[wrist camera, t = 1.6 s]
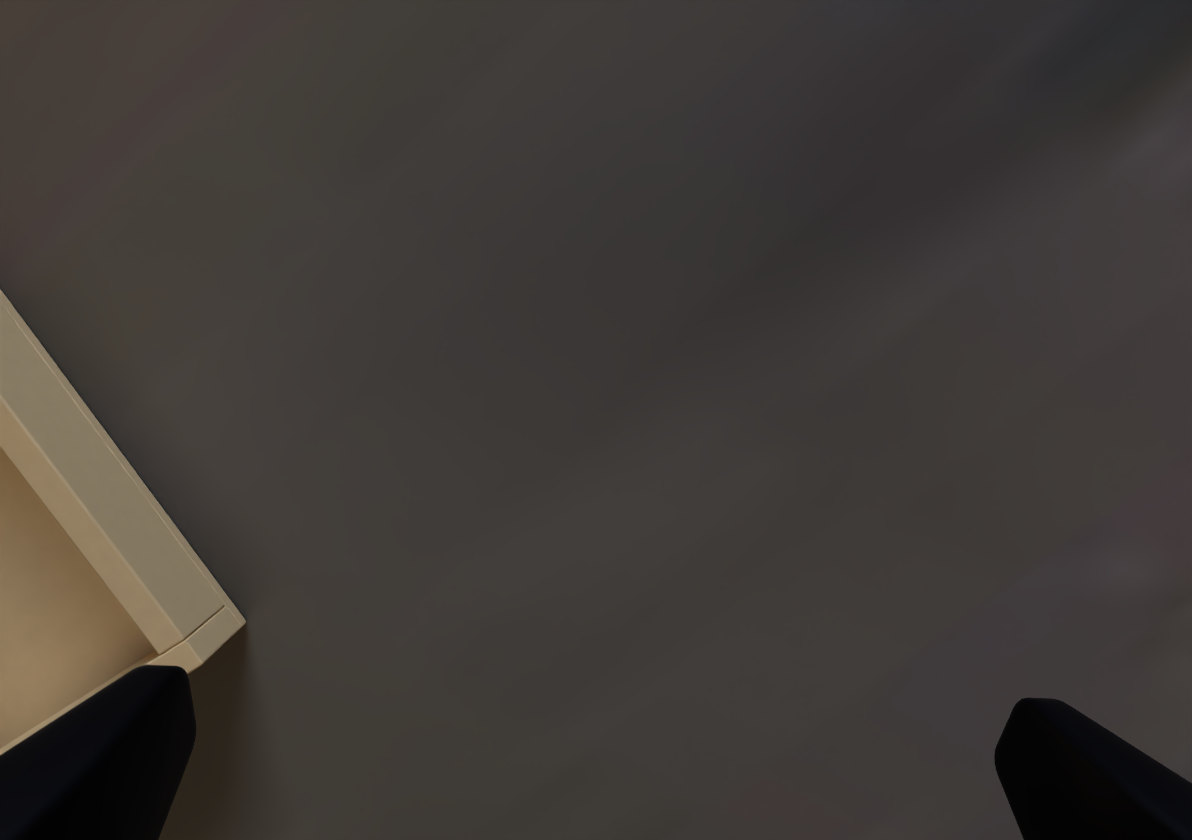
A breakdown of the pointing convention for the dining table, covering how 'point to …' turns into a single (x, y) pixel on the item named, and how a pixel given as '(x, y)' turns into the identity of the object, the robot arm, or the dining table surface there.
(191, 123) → the dining table surface
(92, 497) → the tray
